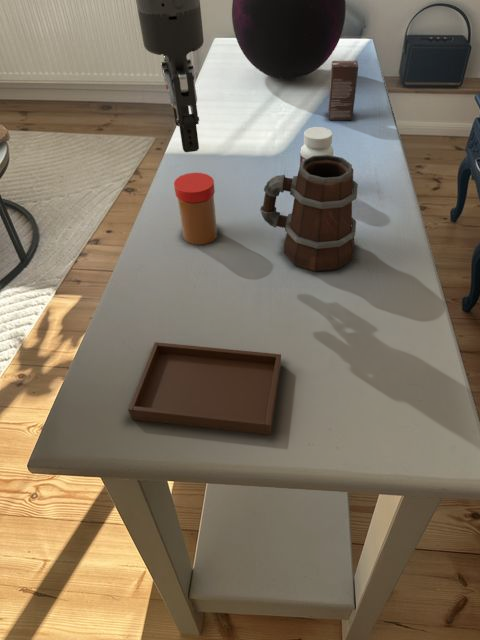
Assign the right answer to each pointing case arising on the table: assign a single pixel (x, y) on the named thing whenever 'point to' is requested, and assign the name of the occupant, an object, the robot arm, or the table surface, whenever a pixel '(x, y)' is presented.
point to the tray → (208, 388)
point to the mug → (316, 212)
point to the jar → (198, 221)
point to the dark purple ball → (288, 34)
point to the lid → (194, 187)
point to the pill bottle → (316, 143)
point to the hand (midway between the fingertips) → (187, 137)
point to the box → (342, 90)
